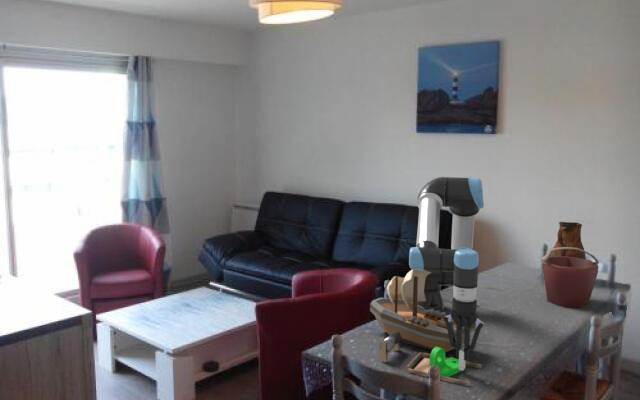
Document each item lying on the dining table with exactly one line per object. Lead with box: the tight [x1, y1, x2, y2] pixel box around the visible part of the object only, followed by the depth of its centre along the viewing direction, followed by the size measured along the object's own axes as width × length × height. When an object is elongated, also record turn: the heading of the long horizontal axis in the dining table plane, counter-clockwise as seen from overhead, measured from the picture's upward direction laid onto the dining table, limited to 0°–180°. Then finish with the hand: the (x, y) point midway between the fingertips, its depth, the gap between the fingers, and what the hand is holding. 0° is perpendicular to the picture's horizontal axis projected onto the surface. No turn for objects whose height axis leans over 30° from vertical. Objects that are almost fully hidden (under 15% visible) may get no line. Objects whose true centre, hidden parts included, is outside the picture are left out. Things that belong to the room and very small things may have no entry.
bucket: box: [540, 247, 600, 309], centre depth 259 cm, size 24×22×25 cm
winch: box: [379, 330, 402, 363], centre depth 200 cm, size 4×13×7 cm, turn 151°
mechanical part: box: [429, 347, 462, 378], centre depth 188 cm, size 12×6×8 cm, turn 131°
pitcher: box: [550, 221, 587, 260], centre depth 291 cm, size 17×21×30 cm
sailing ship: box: [369, 269, 481, 353], centre depth 210 cm, size 16×45×27 cm, turn 47°
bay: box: [405, 351, 482, 387], centre depth 189 cm, size 21×15×2 cm
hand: (461, 368), depth 186 cm, fingers closed
